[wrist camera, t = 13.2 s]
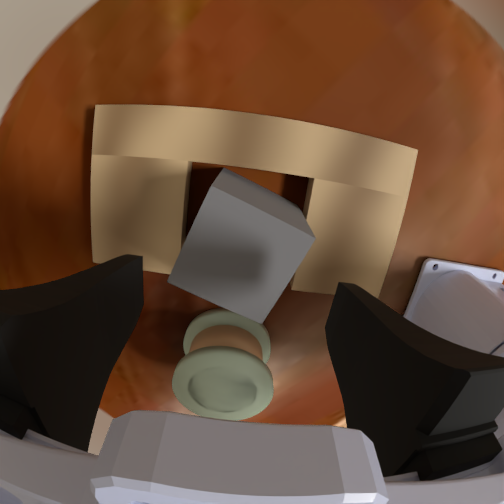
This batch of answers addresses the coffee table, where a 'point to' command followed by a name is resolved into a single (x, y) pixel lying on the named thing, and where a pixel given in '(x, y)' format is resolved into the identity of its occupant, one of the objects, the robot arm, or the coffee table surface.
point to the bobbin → (224, 366)
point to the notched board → (256, 157)
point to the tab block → (242, 247)
